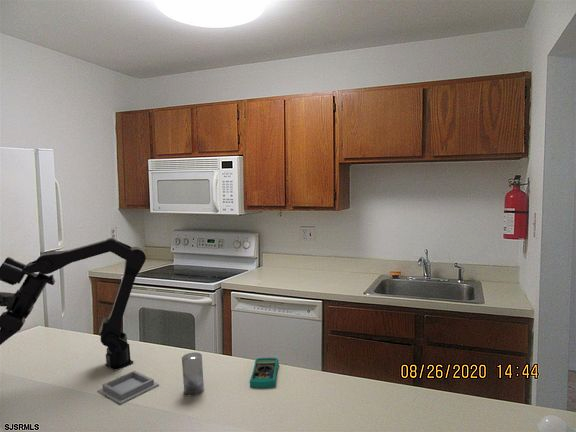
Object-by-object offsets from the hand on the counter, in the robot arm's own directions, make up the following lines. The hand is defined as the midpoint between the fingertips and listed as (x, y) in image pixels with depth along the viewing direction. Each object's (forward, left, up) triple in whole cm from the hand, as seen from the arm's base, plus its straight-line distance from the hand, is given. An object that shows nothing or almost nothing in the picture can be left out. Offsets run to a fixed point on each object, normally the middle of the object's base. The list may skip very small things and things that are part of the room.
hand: (1, 339), depth 121 cm
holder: (-20, +32, -15) cm, 41 cm away
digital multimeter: (-48, +60, -16) cm, 79 cm away
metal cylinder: (-30, +49, -15) cm, 60 cm away
